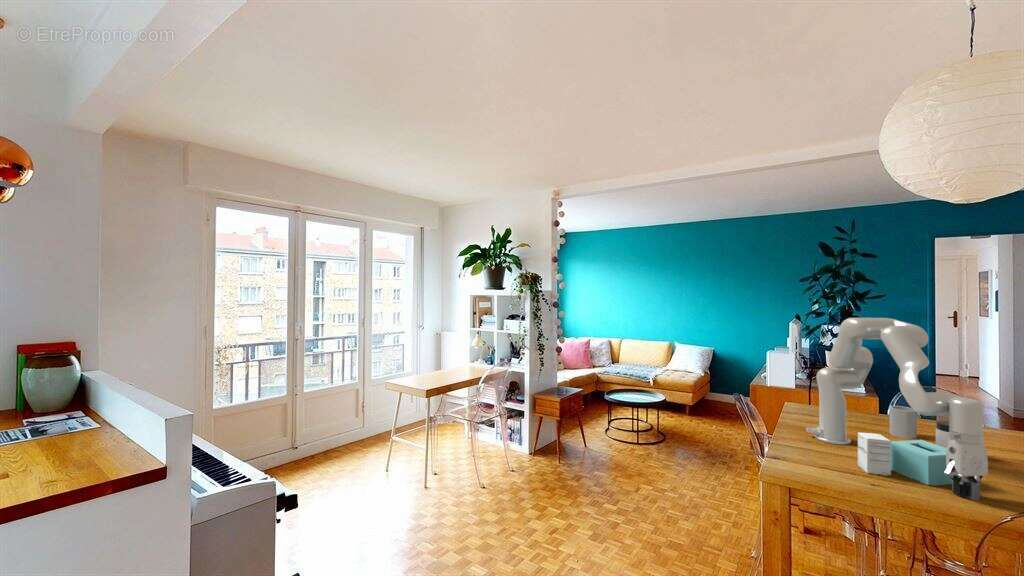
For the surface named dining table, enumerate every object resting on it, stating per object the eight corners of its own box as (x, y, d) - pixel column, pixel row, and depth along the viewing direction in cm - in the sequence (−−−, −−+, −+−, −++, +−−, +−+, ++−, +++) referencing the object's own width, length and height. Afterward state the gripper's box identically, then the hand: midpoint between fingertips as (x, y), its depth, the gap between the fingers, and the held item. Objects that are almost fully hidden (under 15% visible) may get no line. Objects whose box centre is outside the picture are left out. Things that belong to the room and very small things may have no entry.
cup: (888, 430, 203) (888, 404, 203) (915, 434, 198) (915, 407, 198) (891, 435, 196) (891, 409, 196) (918, 439, 191) (918, 412, 191)
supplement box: (857, 465, 163) (857, 431, 163) (880, 468, 160) (880, 433, 160) (866, 473, 155) (866, 438, 156) (891, 476, 153) (891, 440, 153)
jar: (962, 459, 169) (962, 428, 169) (933, 452, 175) (933, 423, 175) (968, 454, 173) (968, 424, 174) (940, 448, 180) (940, 419, 180)
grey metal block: (973, 500, 136) (973, 484, 136) (952, 491, 142) (952, 476, 142) (979, 500, 136) (979, 484, 136) (958, 491, 142) (958, 476, 142)
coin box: (928, 485, 146) (928, 455, 146) (887, 468, 160) (887, 441, 160) (965, 483, 148) (965, 454, 148) (922, 466, 161) (922, 439, 161)
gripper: (955, 442, 134) (955, 502, 134) (1002, 440, 136) (1002, 499, 136) (929, 434, 142) (929, 491, 142) (974, 432, 144) (974, 488, 144)
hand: (965, 494), depth 139 cm, fingers open, 3 cm apart
